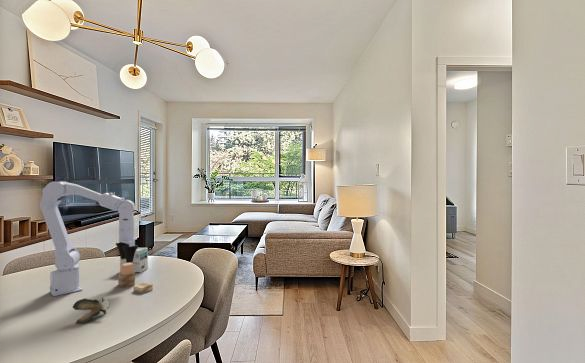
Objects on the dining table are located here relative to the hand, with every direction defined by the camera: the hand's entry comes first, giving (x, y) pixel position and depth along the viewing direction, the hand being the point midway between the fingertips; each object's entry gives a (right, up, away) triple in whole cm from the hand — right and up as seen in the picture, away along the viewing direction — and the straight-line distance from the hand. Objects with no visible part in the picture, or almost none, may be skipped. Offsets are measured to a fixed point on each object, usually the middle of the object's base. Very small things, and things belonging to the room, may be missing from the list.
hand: (126, 260), depth 132 cm
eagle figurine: (+5, -11, -31) cm, 33 cm away
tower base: (0, -11, 0) cm, 11 cm away
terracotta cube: (0, -6, 0) cm, 6 cm away
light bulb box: (-7, -10, +20) cm, 24 cm away
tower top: (0, -8, 0) cm, 8 cm away
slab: (+10, -11, -7) cm, 16 cm away
